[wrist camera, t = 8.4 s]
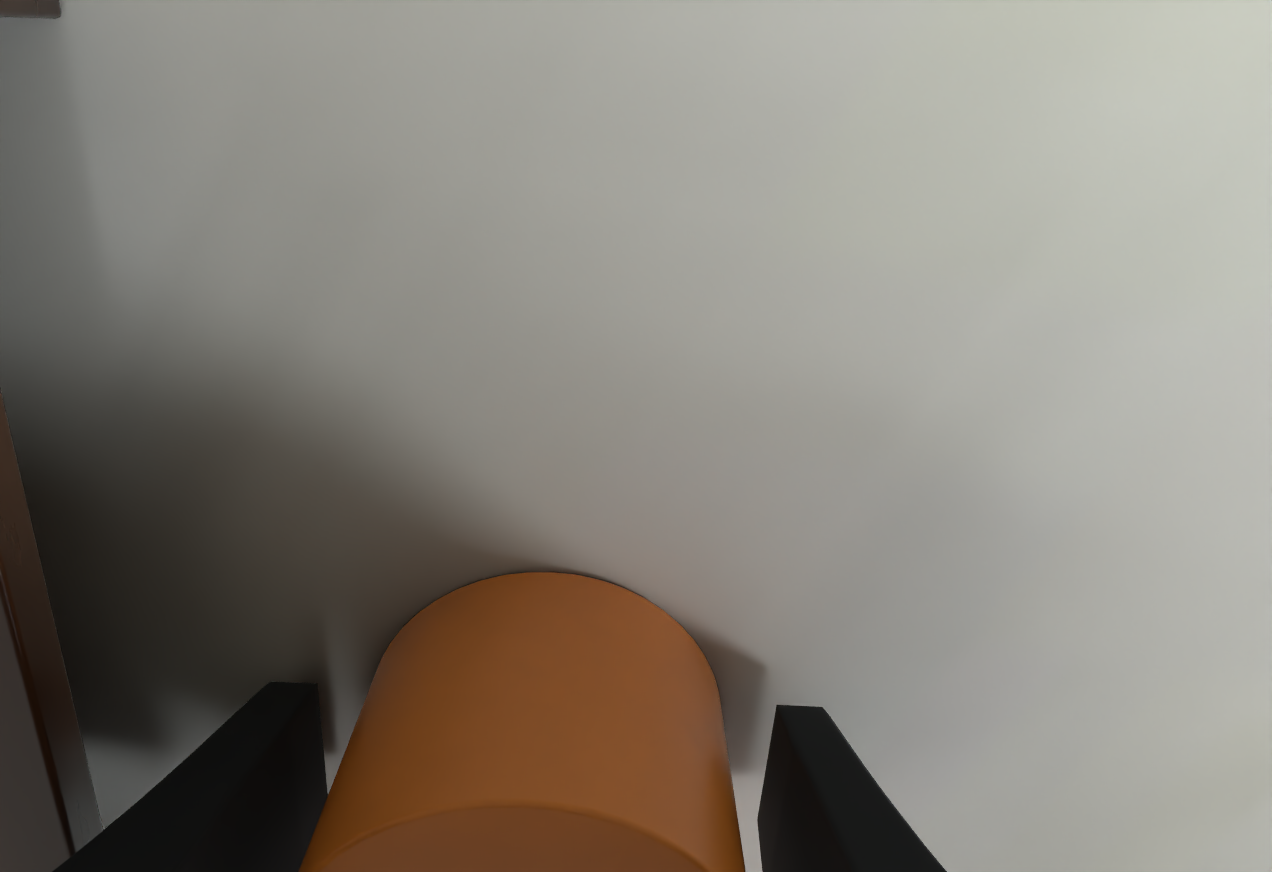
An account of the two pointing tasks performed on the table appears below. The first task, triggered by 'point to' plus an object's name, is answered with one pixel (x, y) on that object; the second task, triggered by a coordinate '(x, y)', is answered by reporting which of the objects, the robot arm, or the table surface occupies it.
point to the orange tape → (535, 741)
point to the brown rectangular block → (34, 675)
